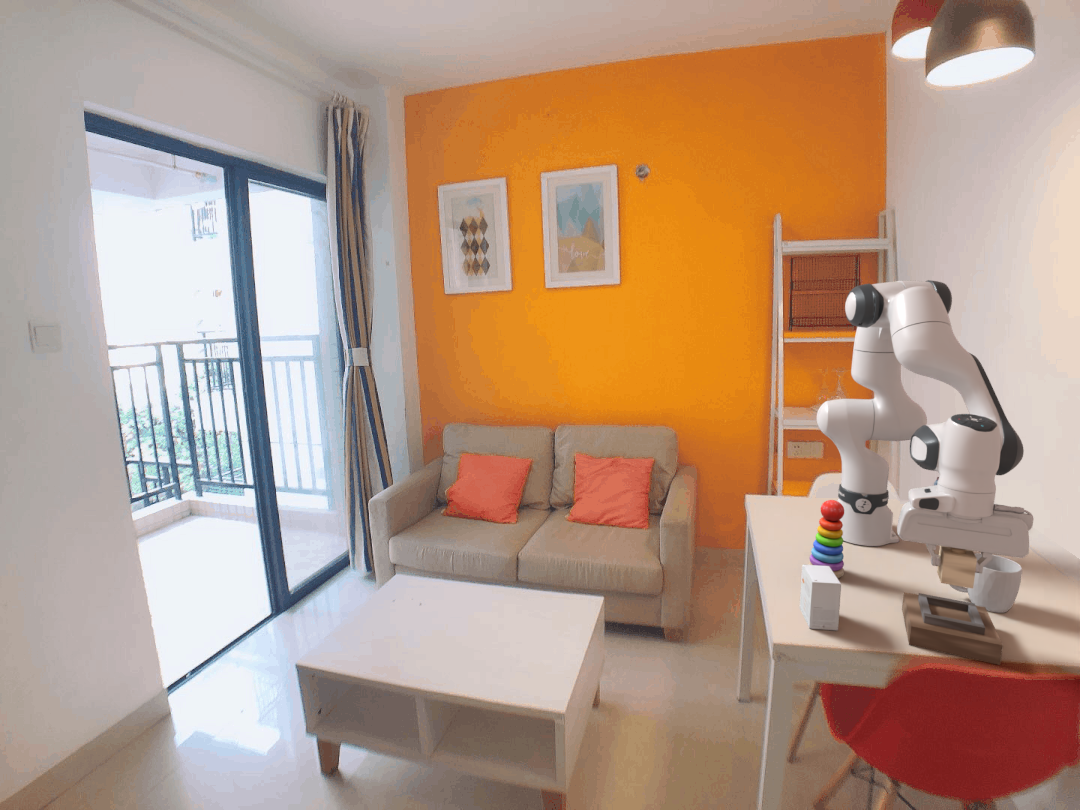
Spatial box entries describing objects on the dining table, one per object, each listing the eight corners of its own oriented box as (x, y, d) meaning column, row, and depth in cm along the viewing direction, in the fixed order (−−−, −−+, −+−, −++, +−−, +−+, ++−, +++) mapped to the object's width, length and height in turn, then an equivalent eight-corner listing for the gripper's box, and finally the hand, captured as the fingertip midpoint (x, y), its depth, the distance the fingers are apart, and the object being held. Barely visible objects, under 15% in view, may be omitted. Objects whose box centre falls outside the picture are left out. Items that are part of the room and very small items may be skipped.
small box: (838, 631, 113) (842, 584, 111) (808, 629, 114) (812, 582, 112) (826, 610, 121) (830, 565, 119) (798, 608, 122) (801, 563, 120)
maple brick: (937, 571, 112) (940, 540, 111) (967, 577, 109) (971, 544, 108) (941, 582, 107) (944, 550, 106) (973, 588, 105) (977, 555, 104)
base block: (901, 608, 120) (904, 585, 119) (982, 625, 114) (986, 600, 113) (909, 644, 108) (911, 619, 107) (1000, 665, 102) (1004, 638, 101)
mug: (1013, 601, 122) (1020, 559, 120) (1018, 621, 115) (1025, 576, 113) (942, 585, 129) (947, 545, 127) (942, 603, 122) (948, 561, 120)
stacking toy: (809, 577, 134) (814, 504, 131) (806, 562, 142) (811, 493, 138) (846, 582, 132) (852, 507, 128) (840, 567, 139) (846, 496, 136)
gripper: (1029, 503, 104) (1019, 572, 106) (899, 488, 113) (893, 552, 115) (1040, 514, 98) (1029, 587, 101) (903, 498, 108) (896, 564, 110)
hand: (955, 568), depth 108 cm, fingers closed on maple brick, 5 cm apart
